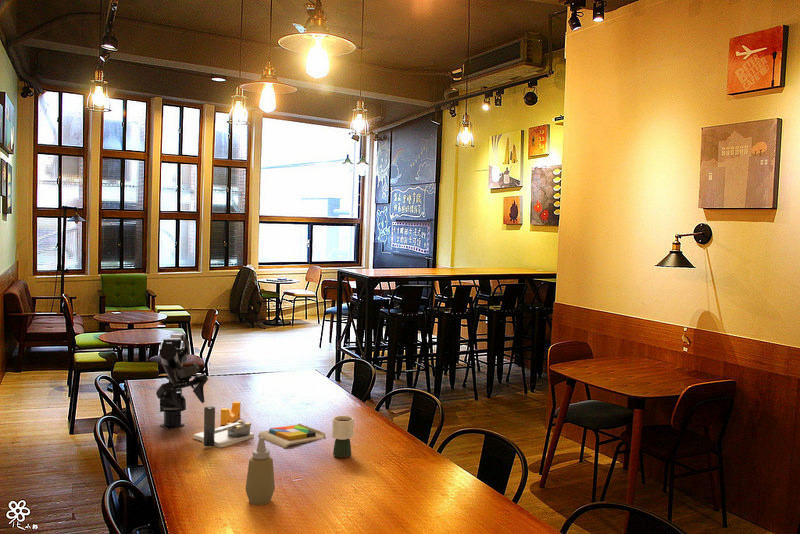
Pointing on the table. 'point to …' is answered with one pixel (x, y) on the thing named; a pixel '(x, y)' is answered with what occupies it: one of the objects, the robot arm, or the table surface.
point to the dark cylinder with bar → (232, 428)
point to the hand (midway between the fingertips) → (192, 405)
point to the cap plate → (223, 438)
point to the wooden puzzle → (291, 435)
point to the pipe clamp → (230, 414)
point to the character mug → (342, 435)
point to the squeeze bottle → (260, 476)
